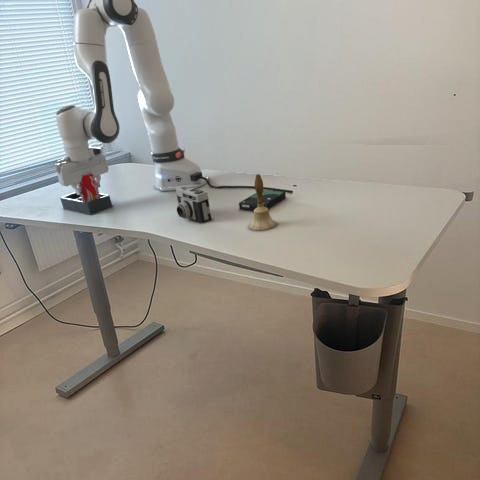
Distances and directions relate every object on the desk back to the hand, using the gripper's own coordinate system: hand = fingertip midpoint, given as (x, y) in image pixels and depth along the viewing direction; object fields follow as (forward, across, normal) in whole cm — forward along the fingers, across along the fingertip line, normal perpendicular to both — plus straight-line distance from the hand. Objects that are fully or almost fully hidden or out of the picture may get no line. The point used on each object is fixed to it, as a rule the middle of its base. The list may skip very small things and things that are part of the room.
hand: (89, 190), depth 188 cm
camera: (+7, +7, -47) cm, 49 cm away
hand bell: (+7, +12, -75) cm, 76 cm away
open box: (+7, 0, +5) cm, 9 cm away
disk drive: (+7, +28, -62) cm, 69 cm away
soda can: (+5, 0, 0) cm, 5 cm away
